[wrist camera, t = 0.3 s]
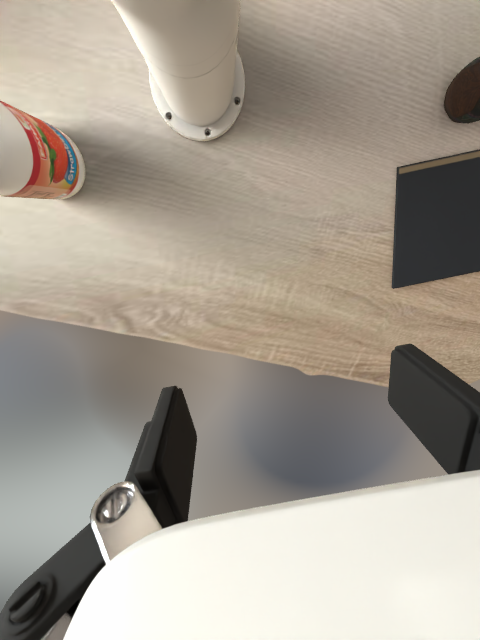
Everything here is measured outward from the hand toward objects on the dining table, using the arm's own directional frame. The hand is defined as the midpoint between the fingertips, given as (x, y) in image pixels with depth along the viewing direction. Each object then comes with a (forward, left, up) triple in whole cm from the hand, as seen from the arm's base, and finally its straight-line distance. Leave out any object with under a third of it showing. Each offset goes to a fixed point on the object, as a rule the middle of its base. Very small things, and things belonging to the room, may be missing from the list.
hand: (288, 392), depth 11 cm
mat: (+2, +36, -36) cm, 51 cm away
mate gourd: (-15, +36, -36) cm, 53 cm away
